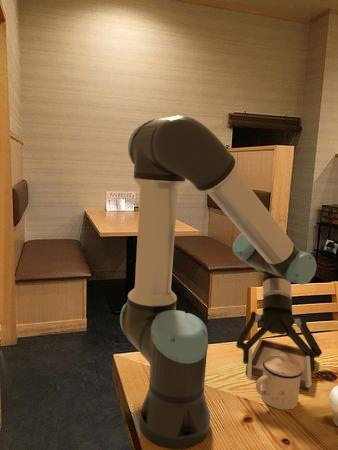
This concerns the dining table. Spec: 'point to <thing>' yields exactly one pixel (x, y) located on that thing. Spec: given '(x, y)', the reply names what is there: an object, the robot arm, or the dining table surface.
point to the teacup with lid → (280, 381)
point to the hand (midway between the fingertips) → (278, 382)
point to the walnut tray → (274, 348)
